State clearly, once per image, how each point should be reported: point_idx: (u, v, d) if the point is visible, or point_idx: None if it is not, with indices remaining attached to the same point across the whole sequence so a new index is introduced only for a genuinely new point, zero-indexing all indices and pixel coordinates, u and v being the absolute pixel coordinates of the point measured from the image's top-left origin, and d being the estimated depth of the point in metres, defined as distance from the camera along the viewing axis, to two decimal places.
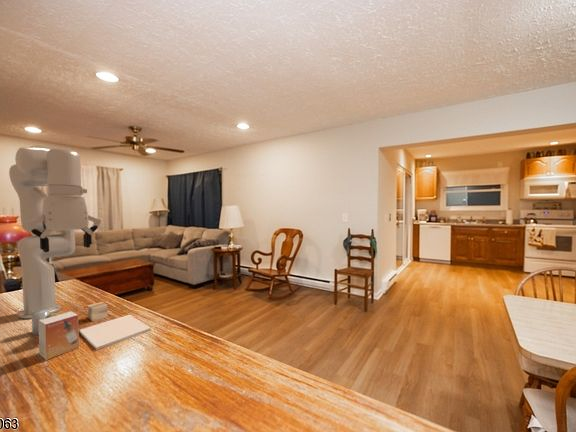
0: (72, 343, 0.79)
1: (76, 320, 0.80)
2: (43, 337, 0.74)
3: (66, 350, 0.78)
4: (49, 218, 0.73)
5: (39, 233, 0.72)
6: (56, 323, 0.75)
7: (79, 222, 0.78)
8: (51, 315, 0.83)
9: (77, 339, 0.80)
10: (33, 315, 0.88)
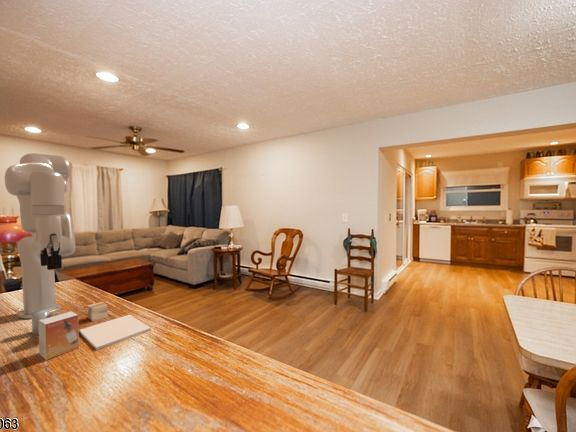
0: (72, 343, 0.79)
1: (76, 320, 0.80)
2: (43, 337, 0.74)
3: (66, 350, 0.78)
4: (61, 236, 0.79)
5: None
6: (56, 323, 0.75)
7: None
8: (52, 314, 0.84)
9: (77, 339, 0.80)
10: (33, 315, 0.88)
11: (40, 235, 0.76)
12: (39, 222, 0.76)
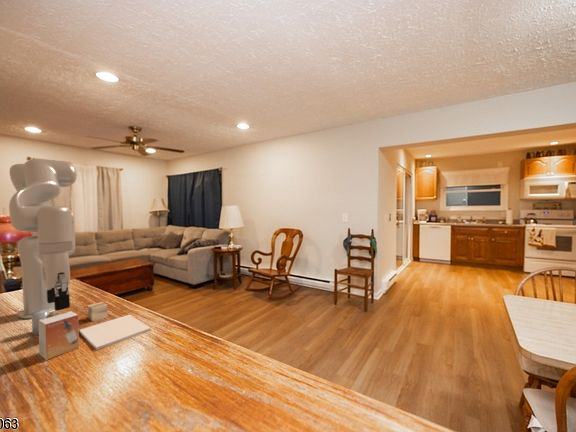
0: (72, 343, 0.79)
1: (76, 320, 0.80)
2: (43, 337, 0.74)
3: (66, 350, 0.78)
4: (69, 274, 0.76)
5: None
6: (56, 323, 0.75)
7: None
8: (53, 313, 0.85)
9: (77, 339, 0.80)
10: (33, 315, 0.88)
11: (48, 275, 0.73)
12: (46, 261, 0.73)
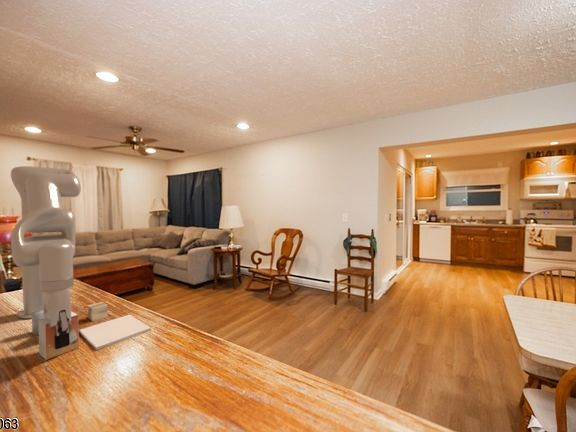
0: (72, 343, 0.79)
1: (76, 320, 0.80)
2: (43, 337, 0.74)
3: (66, 350, 0.78)
4: None
5: None
6: None
7: None
8: None
9: (77, 339, 0.80)
10: (33, 315, 0.88)
11: (49, 313, 0.73)
12: (48, 299, 0.74)
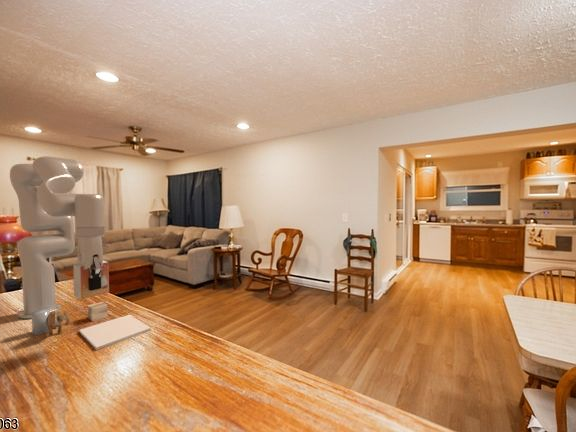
0: (103, 288, 0.85)
1: (106, 267, 0.86)
2: (78, 278, 0.81)
3: (98, 293, 0.84)
4: (102, 256, 0.83)
5: None
6: None
7: None
8: (54, 312, 0.86)
9: (107, 284, 0.86)
10: (33, 315, 0.88)
11: (84, 256, 0.80)
12: (83, 243, 0.80)
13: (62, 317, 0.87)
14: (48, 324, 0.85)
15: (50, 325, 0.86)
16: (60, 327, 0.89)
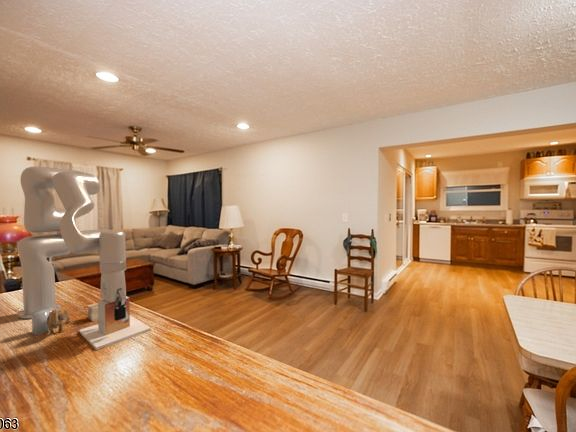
0: (124, 322, 0.91)
1: (128, 302, 0.92)
2: (102, 315, 0.87)
3: (120, 327, 0.90)
4: (125, 289, 0.89)
5: None
6: (112, 303, 0.88)
7: None
8: (55, 311, 0.87)
9: (128, 319, 0.92)
10: (33, 315, 0.88)
11: (109, 290, 0.86)
12: (108, 279, 0.86)
13: (63, 316, 0.88)
14: (49, 323, 0.86)
15: (51, 324, 0.86)
16: (61, 326, 0.90)
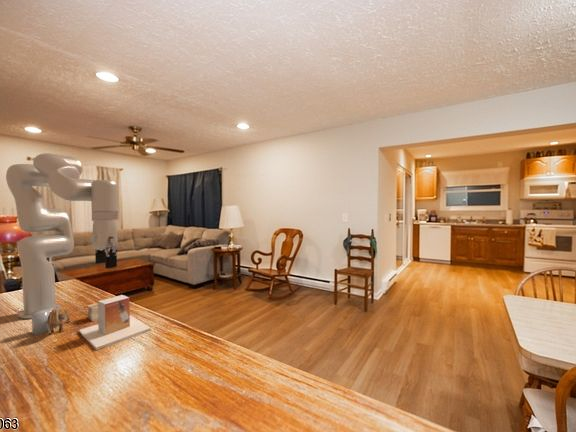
0: (124, 322, 0.91)
1: (128, 302, 0.92)
2: (102, 315, 0.87)
3: (120, 327, 0.90)
4: None
5: None
6: (112, 303, 0.88)
7: None
8: (56, 310, 0.87)
9: (128, 319, 0.92)
10: (33, 315, 0.88)
11: (100, 238, 0.85)
12: (99, 226, 0.86)
13: (63, 315, 0.88)
14: (49, 322, 0.87)
15: (51, 323, 0.87)
16: (61, 325, 0.90)
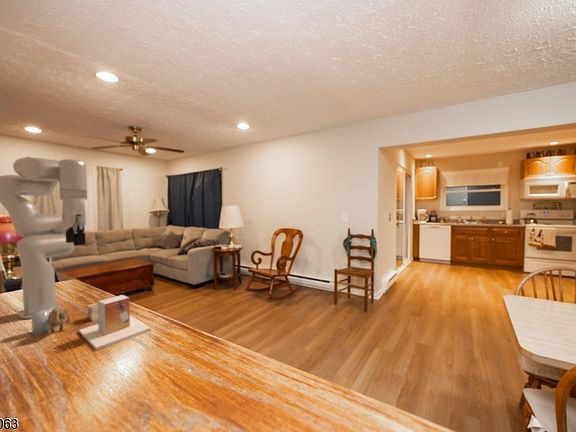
0: (124, 322, 0.91)
1: (128, 302, 0.92)
2: (102, 315, 0.87)
3: (120, 327, 0.90)
4: (85, 217, 0.91)
5: None
6: (112, 303, 0.88)
7: None
8: (56, 309, 0.88)
9: (128, 319, 0.92)
10: (33, 315, 0.88)
11: (68, 215, 0.88)
12: (67, 204, 0.88)
13: (64, 315, 0.89)
14: (50, 321, 0.87)
15: (52, 322, 0.87)
16: (62, 325, 0.91)
